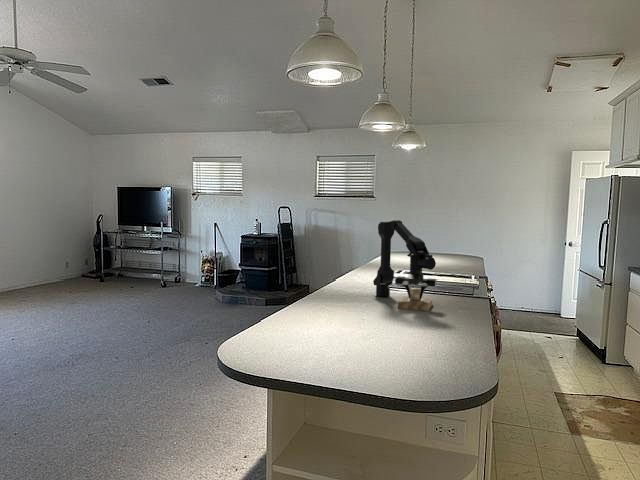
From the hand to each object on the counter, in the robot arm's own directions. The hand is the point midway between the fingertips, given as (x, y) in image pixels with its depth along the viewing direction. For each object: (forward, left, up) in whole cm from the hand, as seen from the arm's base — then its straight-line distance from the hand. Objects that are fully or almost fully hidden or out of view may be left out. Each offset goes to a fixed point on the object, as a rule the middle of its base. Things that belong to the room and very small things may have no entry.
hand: (415, 299), depth 216 cm
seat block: (0, 0, -4) cm, 4 cm away
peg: (0, 0, -4) cm, 4 cm away
